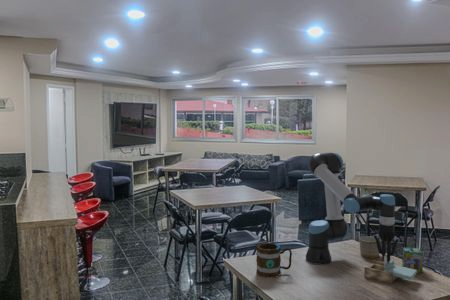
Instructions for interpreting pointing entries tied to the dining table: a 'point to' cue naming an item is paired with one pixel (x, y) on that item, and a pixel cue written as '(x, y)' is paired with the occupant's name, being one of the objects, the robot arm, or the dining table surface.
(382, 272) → the oak case
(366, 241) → the planter
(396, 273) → the cover plate
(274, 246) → the mug
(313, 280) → the dining table surface
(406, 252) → the chalk box
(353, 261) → the dining table surface
